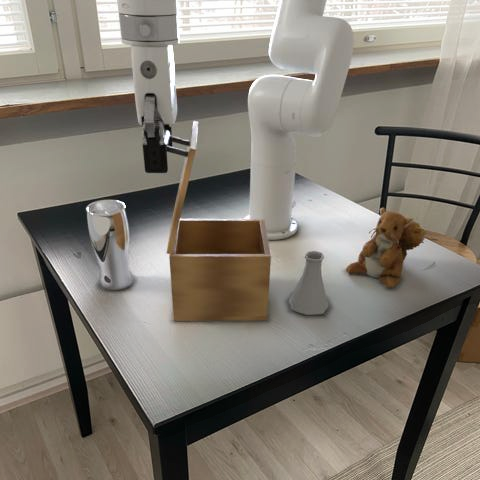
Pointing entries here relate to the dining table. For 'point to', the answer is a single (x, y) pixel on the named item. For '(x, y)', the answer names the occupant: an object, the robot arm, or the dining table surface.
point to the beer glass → (110, 242)
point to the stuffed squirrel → (388, 248)
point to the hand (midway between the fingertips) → (159, 160)
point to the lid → (184, 177)
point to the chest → (220, 270)
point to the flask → (310, 287)
